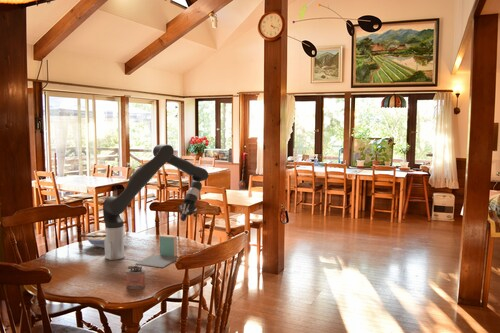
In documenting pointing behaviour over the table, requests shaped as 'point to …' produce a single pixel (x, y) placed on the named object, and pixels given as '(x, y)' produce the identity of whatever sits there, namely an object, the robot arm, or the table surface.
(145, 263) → the rubber mat
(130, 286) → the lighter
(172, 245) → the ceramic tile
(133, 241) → the table surface
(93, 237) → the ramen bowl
